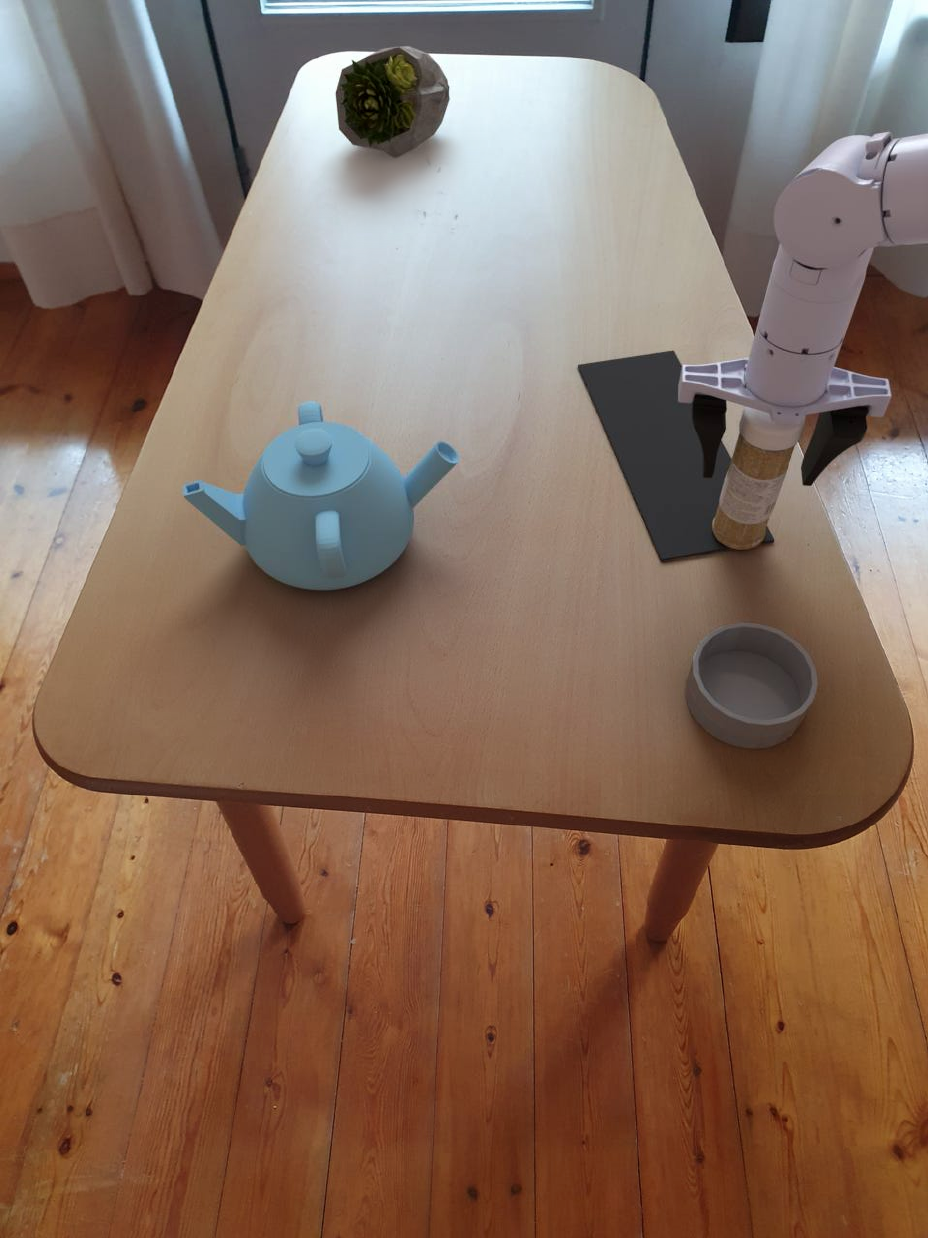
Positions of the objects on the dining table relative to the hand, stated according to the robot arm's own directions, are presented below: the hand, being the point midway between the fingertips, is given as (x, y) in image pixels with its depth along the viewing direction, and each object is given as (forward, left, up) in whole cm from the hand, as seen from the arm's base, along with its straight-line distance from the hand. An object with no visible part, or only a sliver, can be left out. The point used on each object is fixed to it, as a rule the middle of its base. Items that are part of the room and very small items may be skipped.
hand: (756, 472), depth 75 cm
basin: (0, +16, -7) cm, 18 cm away
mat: (+6, -10, -7) cm, 14 cm away
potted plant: (+40, -62, -8) cm, 74 cm away
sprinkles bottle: (0, 0, -7) cm, 7 cm away
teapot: (+34, +4, -8) cm, 35 cm away
